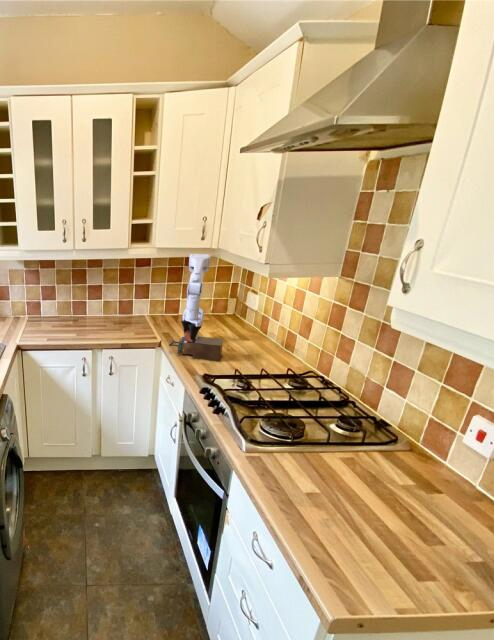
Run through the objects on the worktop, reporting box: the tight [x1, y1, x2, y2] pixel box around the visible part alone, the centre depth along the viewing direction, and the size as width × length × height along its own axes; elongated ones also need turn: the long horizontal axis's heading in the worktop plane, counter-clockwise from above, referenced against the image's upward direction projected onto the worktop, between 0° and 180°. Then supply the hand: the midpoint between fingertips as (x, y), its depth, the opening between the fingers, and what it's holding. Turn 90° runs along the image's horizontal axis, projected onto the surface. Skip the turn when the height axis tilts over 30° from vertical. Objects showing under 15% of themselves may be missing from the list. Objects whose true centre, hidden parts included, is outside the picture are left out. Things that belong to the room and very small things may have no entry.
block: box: [183, 331, 194, 342], centre depth 193 cm, size 4×4×4 cm
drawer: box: [168, 336, 196, 356], centre depth 195 cm, size 15×9×6 cm, turn 66°
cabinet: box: [192, 336, 224, 362], centre depth 192 cm, size 12×11×8 cm
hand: (189, 337), depth 193 cm, fingers closed on block, 6 cm apart
